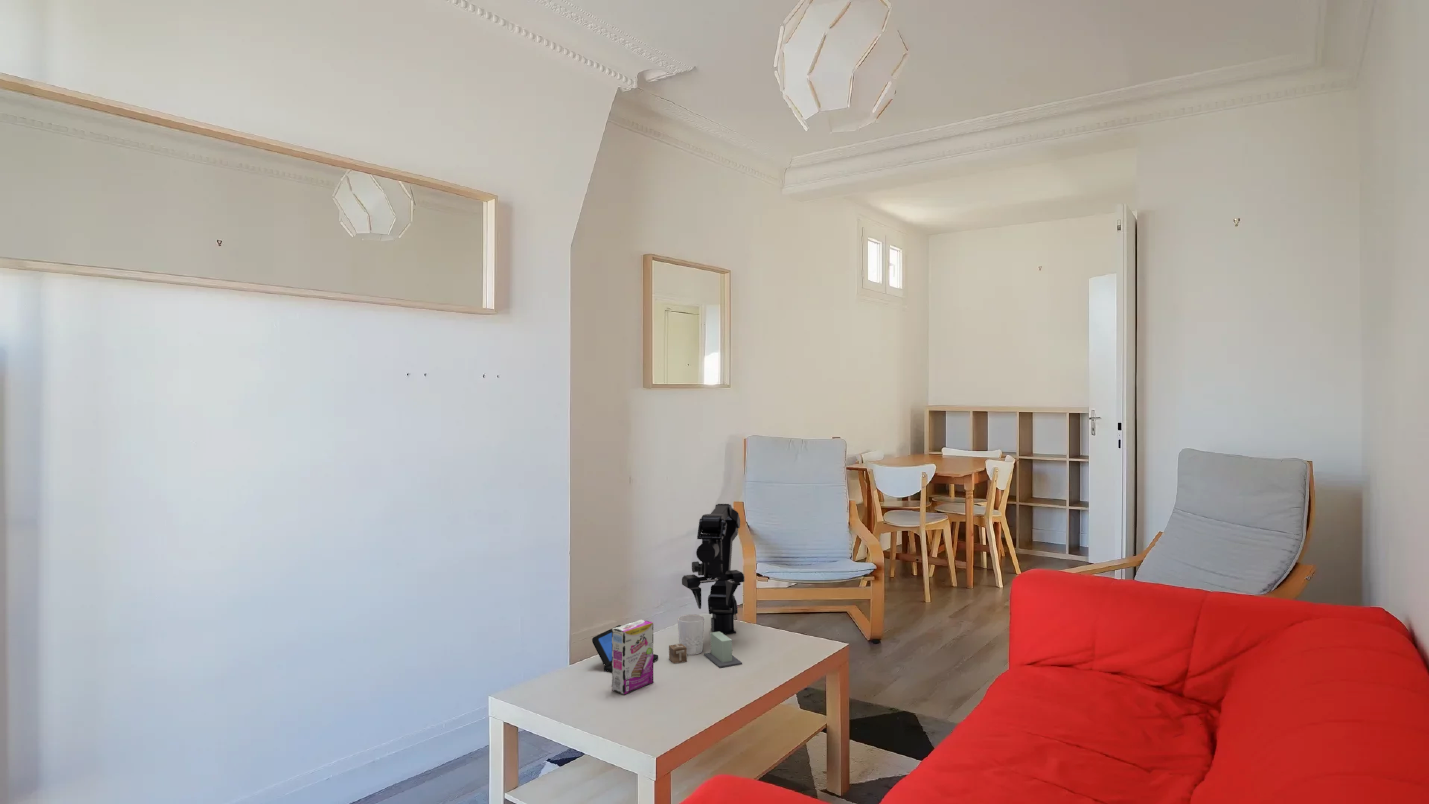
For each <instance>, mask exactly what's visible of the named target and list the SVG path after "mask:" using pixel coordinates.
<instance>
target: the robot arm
mask: <svg viewBox="0 0 1429 804" xmlns="http://www.w3.org/2000/svg"><path fill="white" fill-rule="evenodd" d="M698 521H699V522H698V530H697V536H696V540H701V544H700V545H699V546H698V547H697V549H696V551H695V554H696V558H697V559H698V560H697V561H692V562H691V571H692V573H693V574H686V575H682V578H681V585H682V586H683V587H685V588H687V589H689V590H690V591H691V592H692V594H693V597H694V598H695V601H696V602H695V603H696V605H697V607H698V609H699V610H701V609H702V587H700V586H701V584H707V583H714V584H712V585H710V592H709V594H708V597H707V606H708V607H707V609H708V614H709V615H711V616H712V617H710V627H711V628H710V631H711V632H719V631H720V632H721V633H723V634H724V635H730V634H736V633H737V631H736V630H735V628H734V625H735V622H734V619H735V618H734V616H735V615H737V614H739V613H738V612H739V609H738V603H737V600H736V597H735V592H736V590H737V589H738V587H739V586H741V585H742V584H741V583H744V582H745V574H744V573H743V572H742V571H739V570H738V569H731V567H732V555H733V554H732V553H733V541H735V539H736V538H737V536H738V534H739V529H740V528H741V517H740V513H739V512H738V511H737V510H735V509H734V508H733V507H732V504H730V503H717V504H715V507H714V509H713V510H712V511H711V513H705V514H703V515H701V517H700V518H699V520H698ZM700 562H701V563H700ZM694 573H697V575H696V574H694Z"/></svg>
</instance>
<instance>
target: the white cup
mask: <svg viewBox="0 0 1429 804" xmlns="http://www.w3.org/2000/svg"><path fill="white" fill-rule="evenodd" d="M704 620H705V618H704V616H702V615H700V614H684V615H680V616H679V617H678V618H677V631H678V641H679V642H678V644H683V645H684V646H685V647H686V648H687V656H688V655H689V656H693V655H697V654H700V653H701V654H702V652H703V644H704V643H703V642H704V632H705V631H704V629H705V628H704V624H705V621H704Z"/></svg>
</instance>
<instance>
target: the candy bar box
mask: <svg viewBox="0 0 1429 804" xmlns="http://www.w3.org/2000/svg"><path fill="white" fill-rule="evenodd" d="M615 627H616V626H615ZM611 629H612V672H611V690H612V692H614V693H619V694H621V695H627V694H629V693H632V692H634V691H636V690H638V689H642V688H643V687H645V686H648V685H651V684H653V683H654V662H653V654H654V622H652V621H649V620H646V619H645V620H644V619H638V620H636V621H632V622H630V623H629V622H628V623H626V624H622V625H621V626H619V627H616V628H614V627H612V628H611Z"/></svg>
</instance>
